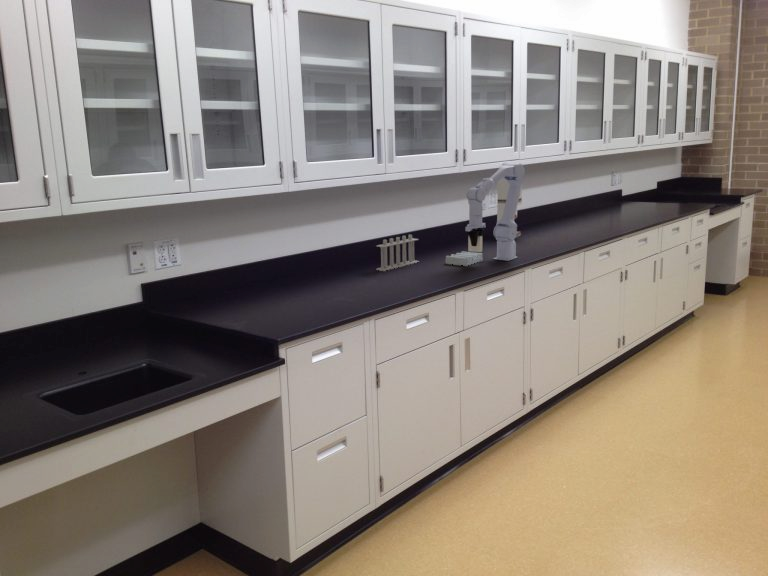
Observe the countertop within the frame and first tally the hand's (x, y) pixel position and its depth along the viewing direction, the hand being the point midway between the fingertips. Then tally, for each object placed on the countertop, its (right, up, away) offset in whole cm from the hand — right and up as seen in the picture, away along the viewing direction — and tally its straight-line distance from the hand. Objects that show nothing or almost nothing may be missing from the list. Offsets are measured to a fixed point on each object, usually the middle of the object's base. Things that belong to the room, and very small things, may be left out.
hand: (475, 245), depth 300 cm
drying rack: (-4, -7, +8) cm, 11 cm away
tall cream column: (+30, +10, +81) cm, 87 cm away
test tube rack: (-34, -9, +2) cm, 36 cm away
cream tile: (0, -3, +1) cm, 3 cm away
